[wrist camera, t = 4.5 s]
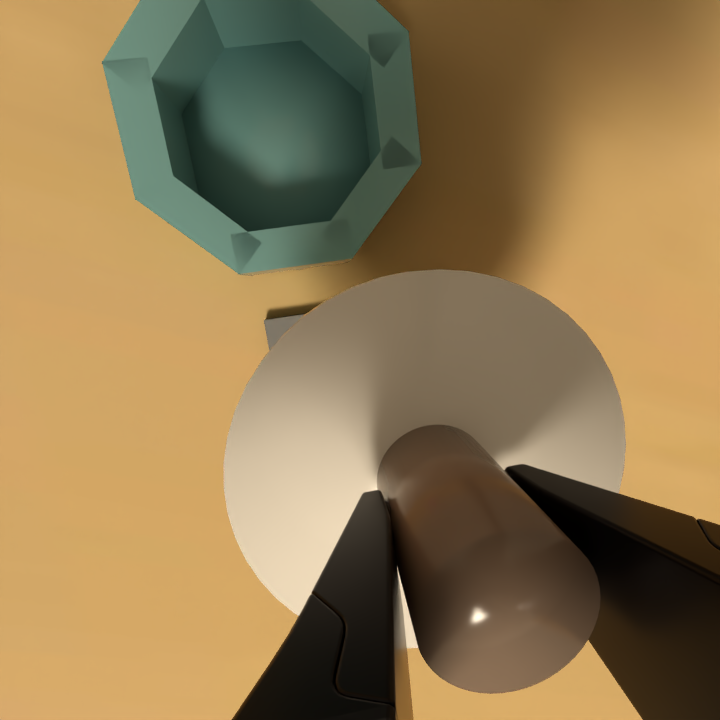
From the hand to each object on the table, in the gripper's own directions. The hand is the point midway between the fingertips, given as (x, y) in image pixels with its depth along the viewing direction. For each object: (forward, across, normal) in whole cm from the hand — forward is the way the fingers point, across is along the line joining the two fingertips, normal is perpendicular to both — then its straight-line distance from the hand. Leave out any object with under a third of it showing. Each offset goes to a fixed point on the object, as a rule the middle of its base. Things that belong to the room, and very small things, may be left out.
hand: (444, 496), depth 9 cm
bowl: (+11, +3, -11) cm, 15 cm away
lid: (+2, 0, 0) cm, 2 cm away
